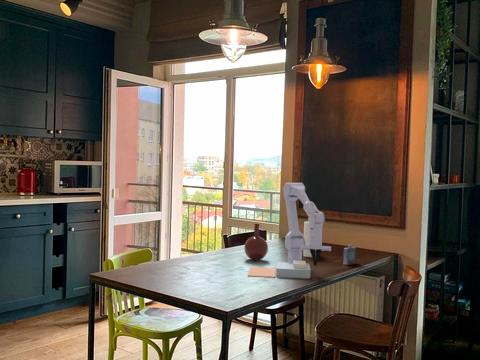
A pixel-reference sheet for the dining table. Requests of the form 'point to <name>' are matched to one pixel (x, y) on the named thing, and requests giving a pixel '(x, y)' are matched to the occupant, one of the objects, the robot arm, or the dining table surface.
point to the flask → (349, 255)
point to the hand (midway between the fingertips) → (315, 265)
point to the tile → (299, 264)
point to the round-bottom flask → (256, 246)
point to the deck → (292, 270)
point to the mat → (262, 272)
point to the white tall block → (307, 239)
